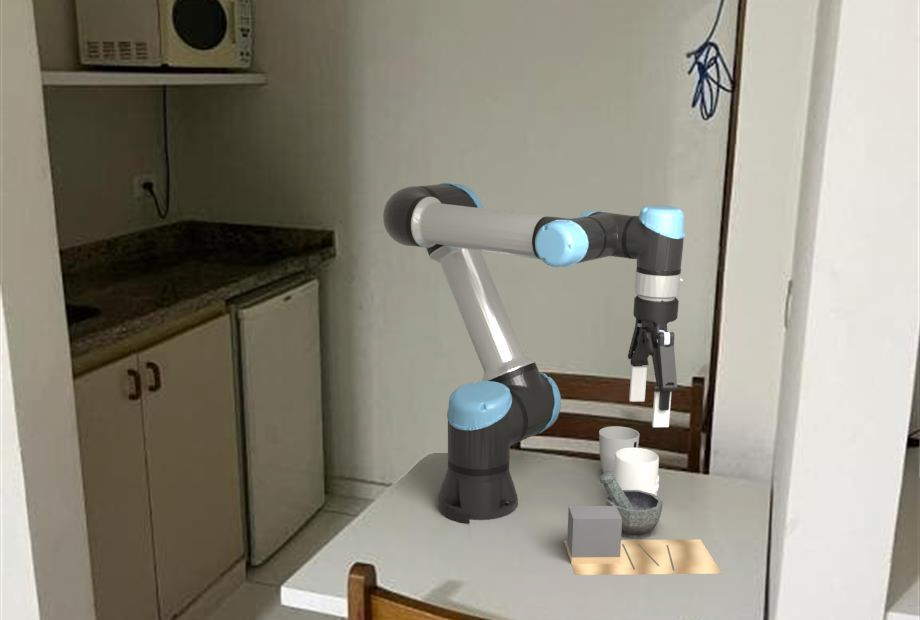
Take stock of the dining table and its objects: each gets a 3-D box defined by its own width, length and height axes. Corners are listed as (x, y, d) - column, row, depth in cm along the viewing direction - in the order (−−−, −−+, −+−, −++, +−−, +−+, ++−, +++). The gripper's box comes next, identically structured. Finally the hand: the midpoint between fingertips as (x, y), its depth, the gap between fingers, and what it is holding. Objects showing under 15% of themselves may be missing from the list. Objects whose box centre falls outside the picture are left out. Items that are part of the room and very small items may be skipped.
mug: (642, 497, 181) (645, 439, 178) (662, 523, 169) (666, 462, 167) (601, 498, 180) (604, 440, 177) (619, 525, 168) (622, 463, 166)
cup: (636, 488, 185) (639, 441, 183) (595, 484, 187) (598, 438, 184) (637, 473, 193) (639, 427, 191) (598, 469, 194) (600, 424, 192)
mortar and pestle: (656, 525, 169) (659, 463, 166) (665, 549, 159) (669, 483, 157) (594, 524, 169) (596, 462, 166) (600, 547, 160) (602, 482, 157)
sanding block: (571, 564, 152) (573, 519, 150) (566, 549, 157) (568, 506, 155) (619, 563, 152) (622, 518, 150) (613, 549, 157) (615, 505, 155)
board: (574, 580, 149) (574, 574, 148) (563, 545, 160) (563, 540, 160) (721, 578, 150) (722, 573, 149) (699, 544, 161) (700, 539, 161)
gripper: (704, 312, 147) (693, 438, 152) (655, 282, 172) (647, 391, 176) (658, 313, 147) (649, 438, 151) (615, 282, 171) (608, 391, 175)
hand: (648, 413), depth 164 cm, fingers open, 13 cm apart
